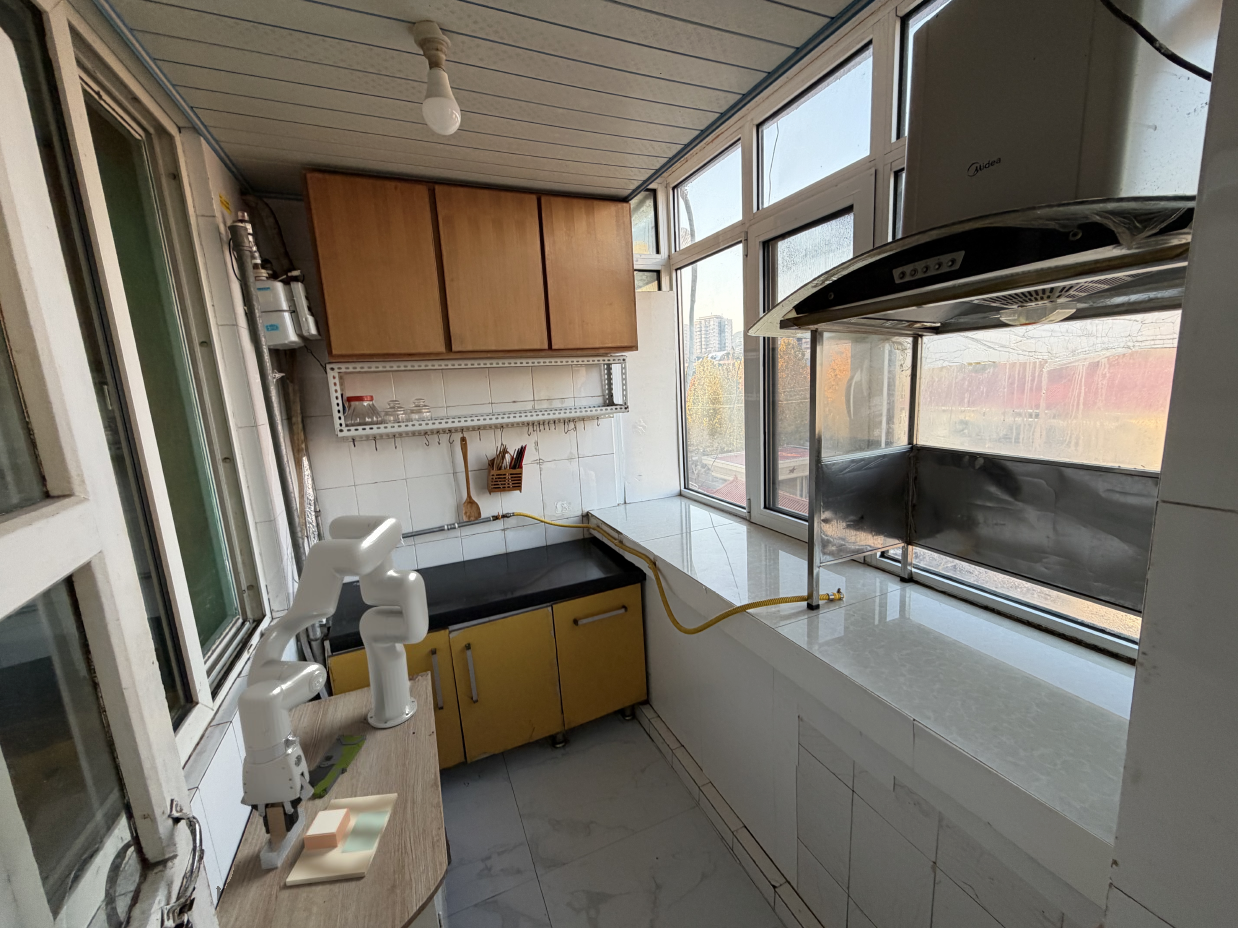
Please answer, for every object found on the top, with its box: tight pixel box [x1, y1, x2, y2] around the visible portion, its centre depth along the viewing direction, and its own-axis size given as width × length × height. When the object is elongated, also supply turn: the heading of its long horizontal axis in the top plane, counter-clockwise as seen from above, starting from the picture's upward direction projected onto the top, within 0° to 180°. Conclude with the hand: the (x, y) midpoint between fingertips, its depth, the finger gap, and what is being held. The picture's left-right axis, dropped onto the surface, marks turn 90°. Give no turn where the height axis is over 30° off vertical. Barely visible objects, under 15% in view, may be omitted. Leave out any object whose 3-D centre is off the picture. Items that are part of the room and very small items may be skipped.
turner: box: [259, 802, 307, 870], centre depth 98 cm, size 10×3×10 cm, turn 6°
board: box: [285, 792, 399, 887], centre depth 100 cm, size 18×14×1 cm
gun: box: [308, 734, 367, 799], centre depth 119 cm, size 2×19×15 cm
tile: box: [303, 808, 351, 850], centre depth 99 cm, size 6×6×3 cm
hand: (282, 825), depth 98 cm, fingers closed on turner, 3 cm apart
